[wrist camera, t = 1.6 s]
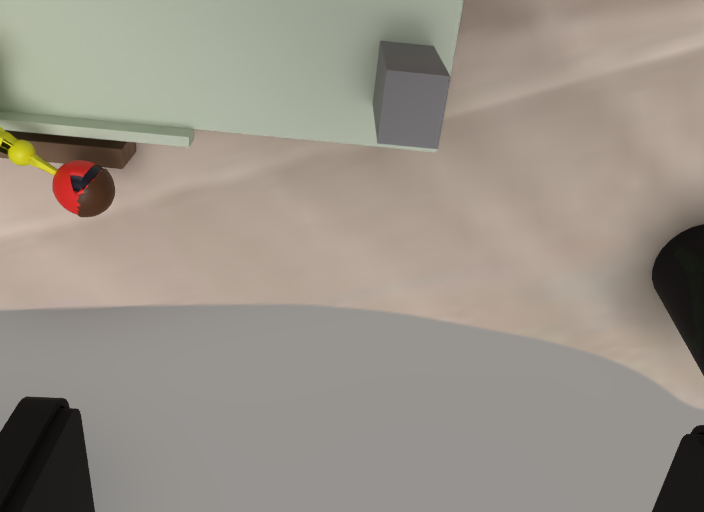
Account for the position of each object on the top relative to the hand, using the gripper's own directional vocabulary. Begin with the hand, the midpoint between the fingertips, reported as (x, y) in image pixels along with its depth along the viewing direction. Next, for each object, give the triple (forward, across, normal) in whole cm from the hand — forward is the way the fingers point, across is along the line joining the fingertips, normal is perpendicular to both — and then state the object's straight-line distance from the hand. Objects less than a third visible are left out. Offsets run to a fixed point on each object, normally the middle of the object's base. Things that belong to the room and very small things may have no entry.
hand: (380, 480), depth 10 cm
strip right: (+25, +11, -1) cm, 27 cm away
